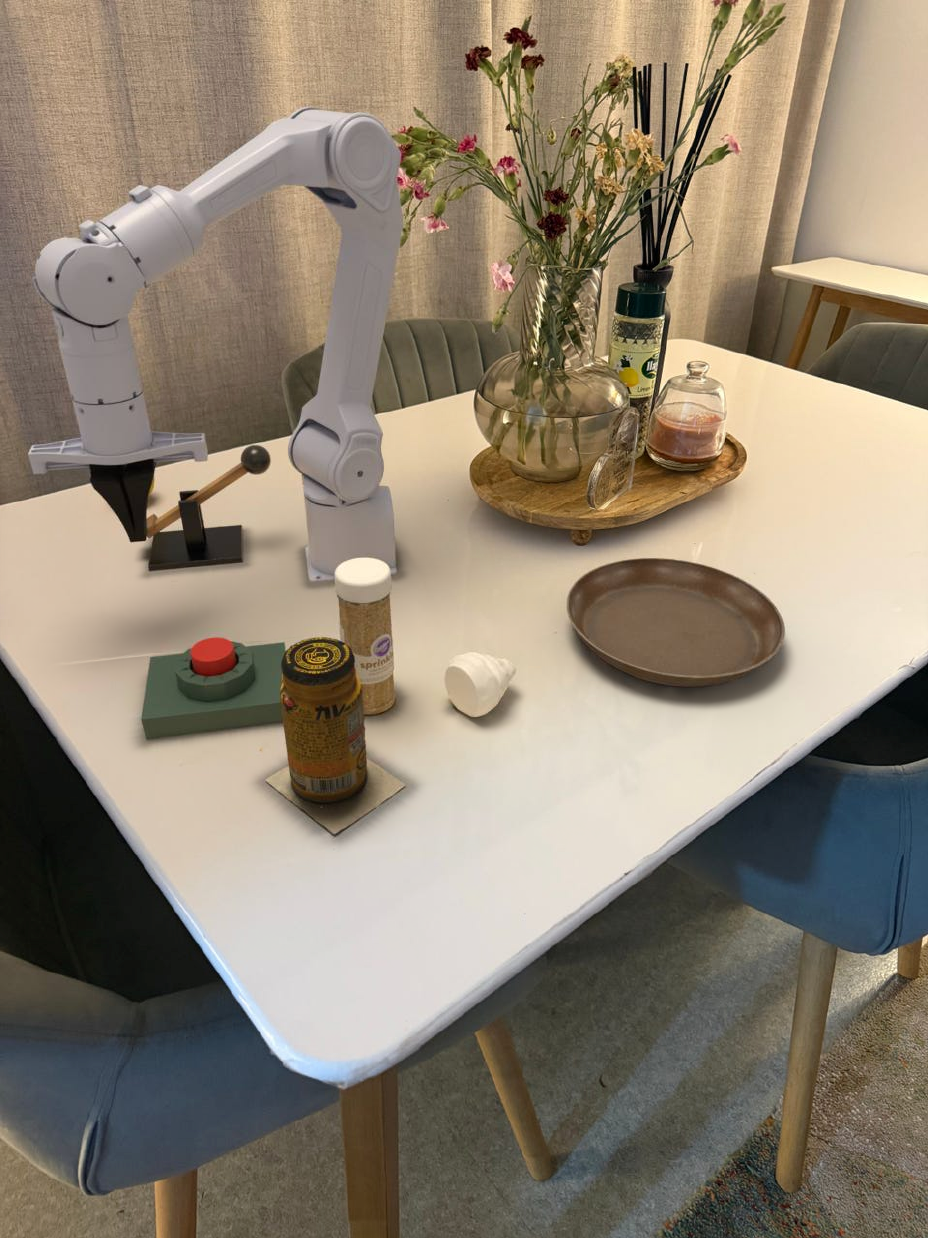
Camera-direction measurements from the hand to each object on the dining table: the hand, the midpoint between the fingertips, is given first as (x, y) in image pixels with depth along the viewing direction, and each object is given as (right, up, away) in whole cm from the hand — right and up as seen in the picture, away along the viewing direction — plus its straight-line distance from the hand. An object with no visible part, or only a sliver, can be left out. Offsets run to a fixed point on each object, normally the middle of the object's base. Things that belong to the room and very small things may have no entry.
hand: (138, 536), depth 82 cm
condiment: (+20, -21, -12) cm, 31 cm away
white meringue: (+32, -15, -3) cm, 35 cm away
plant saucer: (+50, -10, +5) cm, 52 cm away
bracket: (0, 0, +19) cm, 19 cm away
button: (+9, -12, -5) cm, 15 cm away
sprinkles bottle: (+22, -15, -3) cm, 27 cm away
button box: (+9, -15, -3) cm, 17 cm away
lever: (+2, +5, +17) cm, 17 cm away
